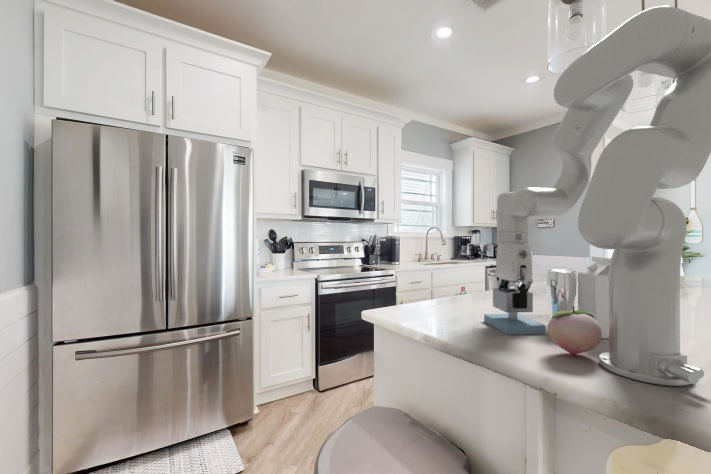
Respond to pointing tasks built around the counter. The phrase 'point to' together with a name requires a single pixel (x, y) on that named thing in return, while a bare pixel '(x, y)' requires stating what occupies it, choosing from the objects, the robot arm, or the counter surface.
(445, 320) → the counter surface
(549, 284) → the beer glass
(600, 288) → the milk carton
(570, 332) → the decorative fruit
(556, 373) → the counter surface
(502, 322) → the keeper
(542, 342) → the counter surface
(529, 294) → the gray square block
